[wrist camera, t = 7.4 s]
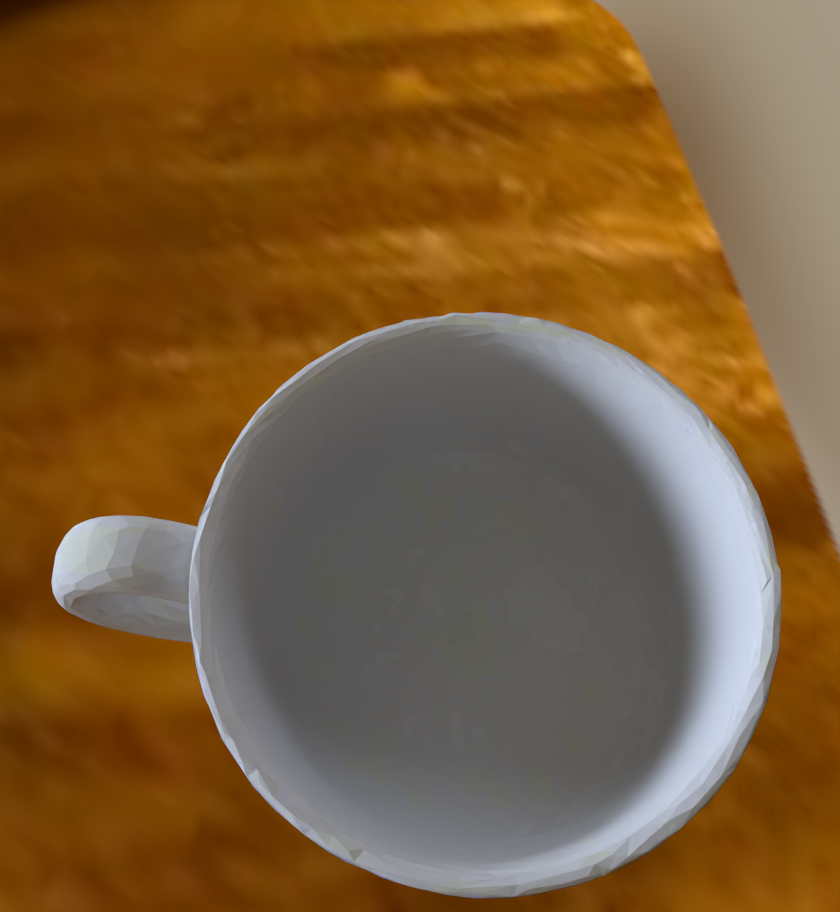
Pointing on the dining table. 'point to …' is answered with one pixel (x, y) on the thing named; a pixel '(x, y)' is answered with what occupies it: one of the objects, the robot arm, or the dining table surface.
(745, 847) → the dining table surface
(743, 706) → the teacup
